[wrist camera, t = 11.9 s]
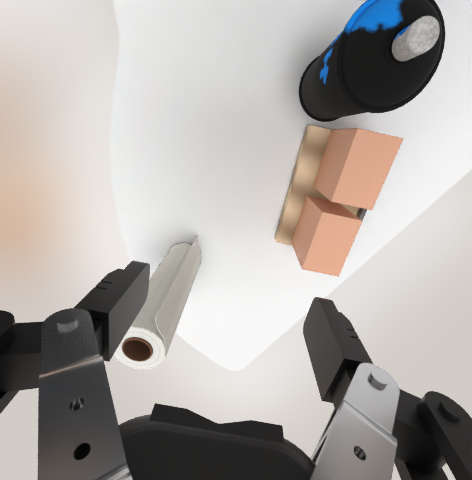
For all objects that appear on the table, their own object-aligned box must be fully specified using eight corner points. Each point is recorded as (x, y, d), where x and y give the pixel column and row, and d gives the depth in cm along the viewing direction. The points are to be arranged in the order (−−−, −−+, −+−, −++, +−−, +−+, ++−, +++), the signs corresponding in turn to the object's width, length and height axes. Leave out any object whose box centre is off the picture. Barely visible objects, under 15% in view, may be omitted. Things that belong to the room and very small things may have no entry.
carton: (306, 195, 38) (322, 212, 30) (338, 202, 38) (363, 220, 30) (291, 241, 41) (302, 269, 33) (320, 248, 41) (338, 276, 33)
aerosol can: (371, 92, 34) (516, 43, 16) (319, 134, 36) (393, 134, 18) (339, 36, 32) (465, -100, 13) (286, 84, 34) (331, 26, 16)
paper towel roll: (178, 275, 47) (129, 377, 27) (162, 249, 45) (95, 338, 25) (212, 262, 46) (185, 359, 26) (197, 234, 43) (155, 317, 24)
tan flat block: (307, 125, 36) (312, 124, 33) (384, 142, 36) (396, 143, 33) (274, 237, 43) (276, 244, 40) (339, 250, 43) (346, 259, 40)
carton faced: (331, 129, 34) (357, 128, 26) (366, 137, 34) (403, 138, 26) (312, 186, 37) (331, 201, 29) (345, 193, 38) (372, 210, 29)
